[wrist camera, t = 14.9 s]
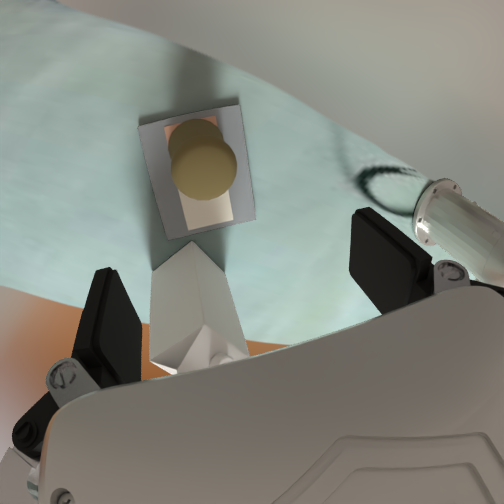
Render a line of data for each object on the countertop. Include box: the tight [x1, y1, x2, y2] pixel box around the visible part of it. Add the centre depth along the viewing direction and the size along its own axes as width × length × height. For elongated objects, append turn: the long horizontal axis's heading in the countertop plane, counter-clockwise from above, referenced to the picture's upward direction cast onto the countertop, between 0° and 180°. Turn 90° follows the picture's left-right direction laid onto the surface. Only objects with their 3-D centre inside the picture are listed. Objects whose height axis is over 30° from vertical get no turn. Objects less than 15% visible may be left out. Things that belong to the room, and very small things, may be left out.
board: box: [138, 104, 256, 240], centre depth 33 cm, size 11×14×1 cm
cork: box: [168, 119, 237, 200], centre depth 26 cm, size 6×6×11 cm
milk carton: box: [149, 241, 250, 375], centre depth 32 cm, size 7×7×19 cm
